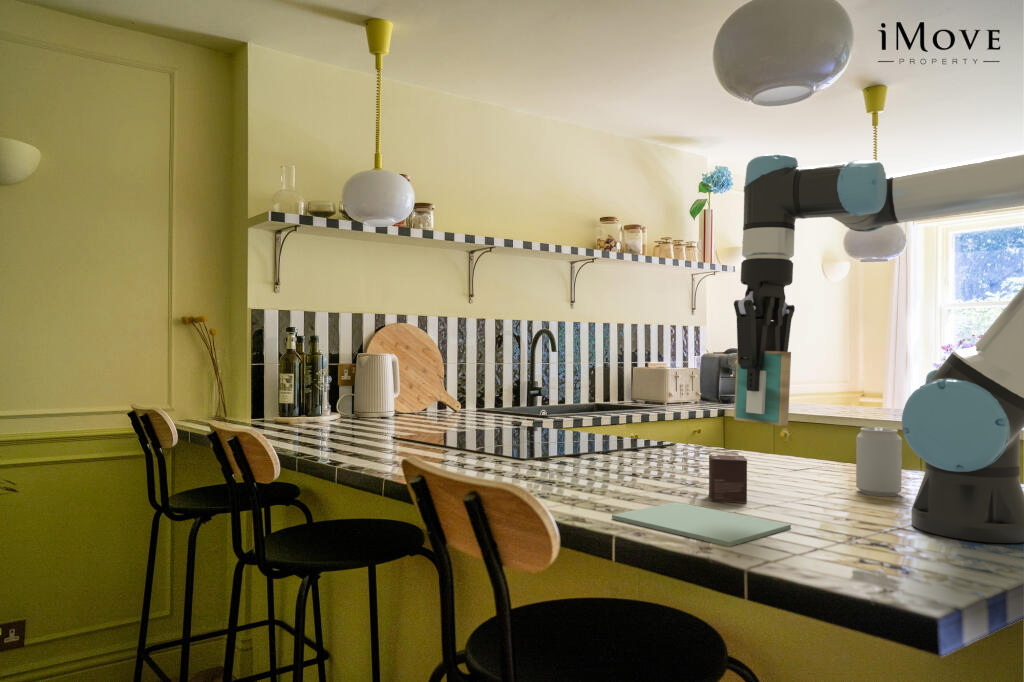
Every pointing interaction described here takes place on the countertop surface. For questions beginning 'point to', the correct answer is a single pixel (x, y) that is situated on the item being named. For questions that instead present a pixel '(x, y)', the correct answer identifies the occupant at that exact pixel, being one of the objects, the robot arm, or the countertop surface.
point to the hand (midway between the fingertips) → (760, 412)
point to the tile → (775, 392)
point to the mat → (702, 523)
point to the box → (728, 478)
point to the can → (879, 461)
